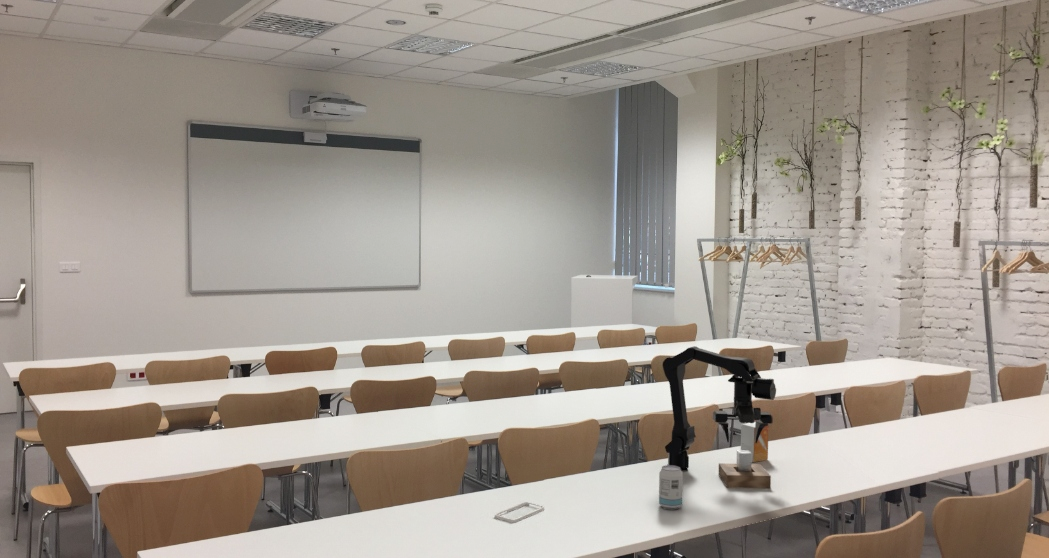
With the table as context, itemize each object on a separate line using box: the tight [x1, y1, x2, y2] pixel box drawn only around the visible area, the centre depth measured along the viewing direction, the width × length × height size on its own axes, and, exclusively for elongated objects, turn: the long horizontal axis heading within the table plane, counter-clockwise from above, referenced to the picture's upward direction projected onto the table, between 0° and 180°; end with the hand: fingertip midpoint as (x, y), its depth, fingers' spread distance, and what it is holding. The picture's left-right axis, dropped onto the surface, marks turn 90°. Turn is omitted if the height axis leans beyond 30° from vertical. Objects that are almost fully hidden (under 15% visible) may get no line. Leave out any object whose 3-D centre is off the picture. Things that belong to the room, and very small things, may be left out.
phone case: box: [494, 501, 545, 523], centre depth 237 cm, size 7×1×15 cm
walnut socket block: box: [718, 462, 772, 489], centre depth 270 cm, size 14×14×4 cm
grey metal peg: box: [736, 449, 753, 472], centre depth 270 cm, size 4×4×10 cm
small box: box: [740, 421, 770, 463], centre depth 297 cm, size 8×6×13 cm
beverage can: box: [658, 465, 684, 511], centre depth 243 cm, size 7×7×12 cm
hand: (741, 442), depth 271 cm, fingers open, 9 cm apart
